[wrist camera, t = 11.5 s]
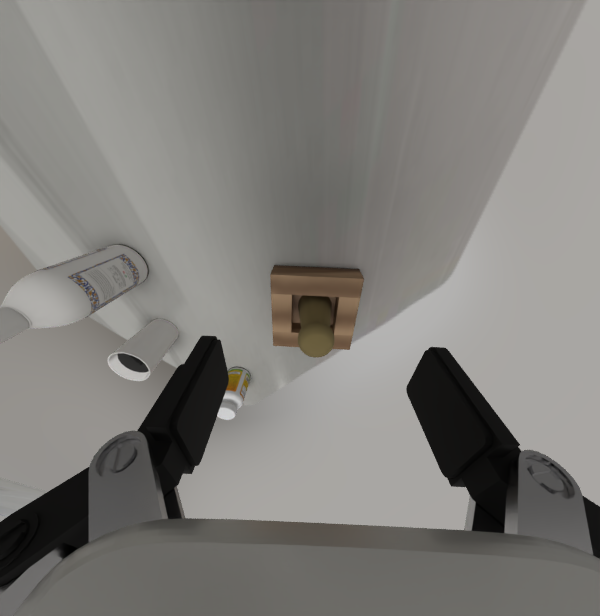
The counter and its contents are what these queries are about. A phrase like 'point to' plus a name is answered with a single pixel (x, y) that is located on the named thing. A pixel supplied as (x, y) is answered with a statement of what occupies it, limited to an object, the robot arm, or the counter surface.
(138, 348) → the white cylindrical cup
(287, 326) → the socket block
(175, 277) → the counter surface
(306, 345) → the olive brown peg
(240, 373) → the supplement bottle
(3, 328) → the bath foam
